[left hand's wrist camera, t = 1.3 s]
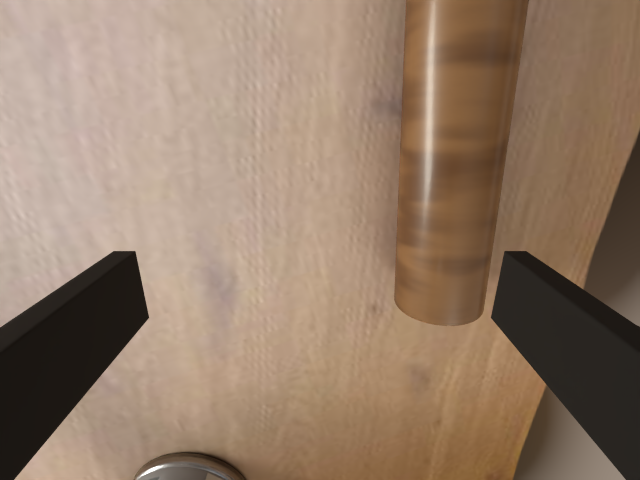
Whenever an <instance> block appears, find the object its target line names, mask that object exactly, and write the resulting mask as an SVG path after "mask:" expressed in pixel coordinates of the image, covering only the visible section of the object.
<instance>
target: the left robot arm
mask: <svg viewBox="0 0 640 480" xmlns="http://www.w3.org/2000/svg"><path fill="white" fill-rule="evenodd" d="M148 318H149V315H148V311H147V306H146V301H145V296H144V291H143V286H142V281H141V276H140V272H139V267H138V262H137V257H136V252H135V251H113V252H112V253H110V254H109V255H107V256H106V257H104V258H103V259H102V260H100V261H99V262H97V263H96V264H94V265H93V266H91V267H90V268H88V269H87V270H85V271H84V272H82V273H81V274H79V275H78V276H76V277H75V278H73V279H72V280H70V281H69V282H67V283H66V284H64V285H63V286H61V287H60V288H58V289H57V290H55V291H54V292H52V293H51V294H49V295H48V296H46V297H45V298H44V299H42V300H41V301H39V302H38V303H36V304H35V305H33V306H32V307H30V308H29V309H27V310H26V311H24V312H23V313H21V314H20V315H18V316H17V317H15V318H14V319H12V320H11V321H9V322H8V323H6V324H5V325H3V326H2V327H0V480H14V479H15V478H16V477H17V475H18V474H19V473H20V472H21V471H22V469H23V468H24V467H25V466H26V465H27V463H28V462H29V461H30V460H31V459H32V457H33V456H34V455H35V454H36V453H37V451H38V450H39V449H40V448H41V447H42V445H43V444H44V443H45V442H46V441H47V439H48V438H49V437H50V436H51V435H52V433H53V432H54V431H55V430H56V429H57V427H58V426H59V425H60V424H61V423H62V421H63V420H64V419H65V418H66V417H67V415H68V414H69V413H70V412H71V411H72V409H73V408H74V407H75V406H76V405H77V403H78V402H79V401H80V400H81V399H82V397H83V396H84V395H85V394H86V393H87V391H88V390H89V389H90V388H91V387H92V385H93V384H94V383H95V382H96V381H97V379H98V378H99V377H100V376H101V375H102V373H103V372H104V371H105V370H106V369H107V367H108V366H109V365H110V364H111V363H112V361H113V360H114V359H115V358H116V357H117V355H118V354H119V353H120V352H121V351H122V349H123V348H124V347H125V346H126V345H127V343H128V342H129V341H130V340H131V339H132V337H133V336H134V335H135V334H136V333H137V331H138V330H139V329H140V328H141V327H142V325H143V324H144V323H145V322H146V321H147V319H148ZM491 318H492V319H493V321H494V322H495V323H496V324H497V325H498V327H499V328H500V329H501V330H502V331H503V333H504V334H505V335H506V336H507V337H508V339H509V340H510V341H511V342H512V343H513V345H514V346H515V347H516V348H517V349H518V351H519V352H520V353H521V354H522V355H523V357H524V358H525V359H526V360H527V361H528V363H529V364H530V365H531V366H532V367H533V369H534V370H535V371H536V372H537V373H538V375H539V376H540V377H541V378H542V379H543V381H544V382H545V383H546V384H547V385H548V387H549V388H550V389H551V390H552V391H553V393H554V394H555V395H556V396H557V397H558V399H559V400H560V401H561V402H562V403H563V405H564V406H565V407H566V408H567V409H568V411H569V412H570V413H571V414H572V415H573V417H574V418H575V419H576V420H577V421H578V423H579V424H580V425H581V426H582V427H583V429H584V430H585V431H586V432H587V433H588V435H589V436H590V437H591V438H592V439H593V441H594V442H595V443H596V444H597V445H598V447H599V448H600V449H601V450H602V451H603V453H604V454H605V455H606V456H607V457H608V459H609V460H610V461H611V462H612V463H613V465H614V466H615V467H616V468H617V469H618V471H619V472H620V473H621V474H622V475H623V477H624V478H625V479H626V480H640V327H639V326H637V325H635V324H634V323H632V322H631V321H629V320H628V319H626V318H625V317H623V316H622V315H620V314H619V313H617V312H616V311H614V310H613V309H611V308H610V307H608V306H607V305H605V304H604V303H602V302H601V301H599V300H598V299H596V298H595V297H594V296H592V295H590V294H589V293H588V292H586V291H585V290H583V289H582V288H580V287H579V286H577V285H576V284H574V283H573V282H571V281H570V280H568V279H567V278H565V277H564V276H562V275H561V274H559V273H558V272H556V271H555V270H553V269H552V268H550V267H549V266H547V265H546V264H544V263H543V262H541V261H540V260H538V259H537V258H536V257H534V256H533V255H531V254H530V253H528V252H527V251H505V252H504V257H503V262H502V267H501V272H500V276H499V281H498V286H497V291H496V296H495V301H494V306H493V311H492V315H491ZM134 480H245V479H244V477H243V476H242V475H241V474H240V473H239V472H238V471H237V470H235V469H234V468H233V467H231V466H230V465H228V464H226V463H224V462H222V461H220V460H218V459H215V458H212V457H209V456H205V455H200V454H193V453H176V454H169V455H165V456H161V457H158V458H156V459H154V460H152V461H150V462H148V463H147V464H145V465H144V466H143V467H142V468H141V469H140V470H139V471H138V472H137V474H136V476H135V478H134Z"/></svg>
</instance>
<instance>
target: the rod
mask: <svg viewBox="0 0 640 480" xmlns="http://www.w3.org/2000/svg"><path fill="white" fill-rule="evenodd" d="M528 2H529V0H406V17H405V43H404V68H403V93H402V118H401V143H400V168H399V193H398V218H397V244H396V269H395V294H394V300H395V303H396V305H397V307H398V308H399V309H400V310H401V311H402V312H404V313H405V314H406V315H408V316H410V317H412V318H414V319H416V320H419V321H422V322H425V323H429V324H434V325H442V326H457V325H464V324H468V323H471V322H473V321H475V320H477V319H478V318H479V317H480V316H481V315H482V313H483V311H484V304H485V297H486V290H487V283H488V276H489V269H490V263H491V256H492V249H493V242H494V235H495V228H496V221H497V215H498V208H499V201H500V194H501V187H502V180H503V173H504V167H505V160H506V153H507V146H508V139H509V132H510V125H511V119H512V112H513V105H514V98H515V91H516V84H517V77H518V71H519V64H520V57H521V50H522V43H523V36H524V29H525V23H526V16H527V9H528Z"/></svg>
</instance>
